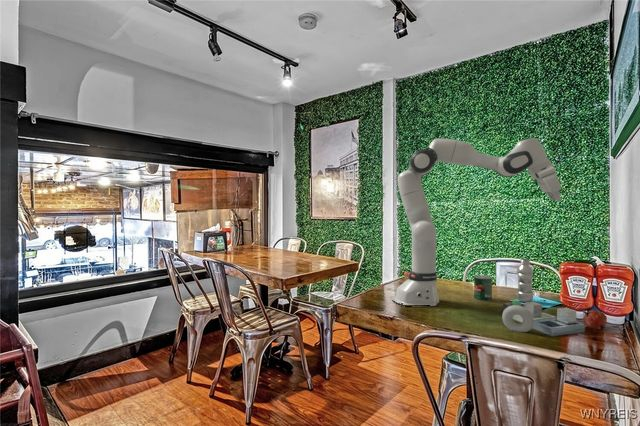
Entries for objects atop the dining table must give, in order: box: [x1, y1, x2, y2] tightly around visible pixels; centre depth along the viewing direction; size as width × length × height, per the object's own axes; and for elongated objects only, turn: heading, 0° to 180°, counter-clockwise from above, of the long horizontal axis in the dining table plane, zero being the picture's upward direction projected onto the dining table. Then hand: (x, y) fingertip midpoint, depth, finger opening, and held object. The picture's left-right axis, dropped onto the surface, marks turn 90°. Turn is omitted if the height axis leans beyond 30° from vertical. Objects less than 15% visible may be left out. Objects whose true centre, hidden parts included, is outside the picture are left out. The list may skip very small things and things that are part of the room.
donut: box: [501, 305, 534, 333], centre depth 123 cm, size 10×4×10 cm, turn 53°
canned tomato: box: [473, 274, 493, 302], centre depth 166 cm, size 8×8×11 cm
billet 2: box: [556, 307, 577, 325], centre depth 124 cm, size 4×4×7 cm
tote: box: [512, 311, 557, 323], centre depth 133 cm, size 13×9×3 cm
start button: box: [511, 299, 522, 306], centre depth 143 cm, size 3×3×3 cm
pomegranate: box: [582, 309, 608, 330], centre depth 126 cm, size 7×7×10 cm
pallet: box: [532, 318, 586, 337], centre depth 123 cm, size 15×8×4 cm, turn 105°
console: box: [502, 301, 525, 311], centre depth 143 cm, size 7×7×4 cm
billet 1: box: [524, 301, 543, 319], centre depth 133 cm, size 4×4×7 cm
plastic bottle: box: [516, 258, 534, 303], centre depth 162 cm, size 6×7×20 cm
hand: (556, 200), depth 148 cm, fingers open, 8 cm apart
